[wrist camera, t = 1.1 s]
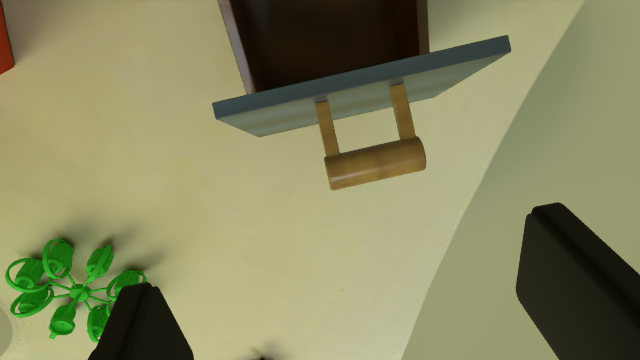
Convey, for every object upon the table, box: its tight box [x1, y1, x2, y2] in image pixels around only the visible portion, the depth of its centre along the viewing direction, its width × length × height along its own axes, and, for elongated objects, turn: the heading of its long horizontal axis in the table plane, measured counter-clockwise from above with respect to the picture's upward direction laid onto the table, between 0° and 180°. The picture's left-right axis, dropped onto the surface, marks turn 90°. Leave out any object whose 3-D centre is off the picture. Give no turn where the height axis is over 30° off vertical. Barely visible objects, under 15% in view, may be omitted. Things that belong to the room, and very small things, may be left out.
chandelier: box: [5, 239, 146, 342], centre depth 45 cm, size 15×15×7 cm
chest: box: [218, 0, 430, 95], centre depth 32 cm, size 12×14×8 cm
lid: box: [212, 35, 511, 190], centre depth 25 cm, size 13×14×5 cm
